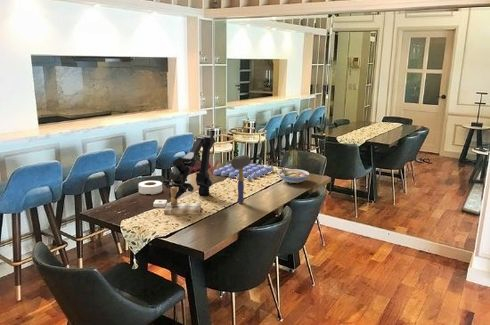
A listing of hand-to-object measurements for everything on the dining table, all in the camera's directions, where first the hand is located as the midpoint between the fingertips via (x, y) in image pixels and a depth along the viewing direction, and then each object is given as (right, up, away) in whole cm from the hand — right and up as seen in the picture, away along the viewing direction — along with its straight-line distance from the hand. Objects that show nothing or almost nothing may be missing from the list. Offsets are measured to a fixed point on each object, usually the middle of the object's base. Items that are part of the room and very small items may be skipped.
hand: (172, 198), depth 232 cm
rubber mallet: (+39, -5, +17) cm, 43 cm away
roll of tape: (-22, +1, +40) cm, 46 cm away
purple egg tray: (+40, +11, +87) cm, 96 cm away
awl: (+1, -6, +3) cm, 7 cm away
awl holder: (-10, -5, +12) cm, 16 cm away
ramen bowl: (+78, +6, +63) cm, 100 cm away
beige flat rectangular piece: (+6, -7, +3) cm, 10 cm away
